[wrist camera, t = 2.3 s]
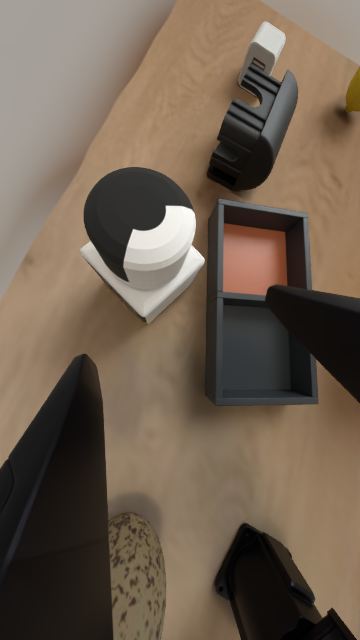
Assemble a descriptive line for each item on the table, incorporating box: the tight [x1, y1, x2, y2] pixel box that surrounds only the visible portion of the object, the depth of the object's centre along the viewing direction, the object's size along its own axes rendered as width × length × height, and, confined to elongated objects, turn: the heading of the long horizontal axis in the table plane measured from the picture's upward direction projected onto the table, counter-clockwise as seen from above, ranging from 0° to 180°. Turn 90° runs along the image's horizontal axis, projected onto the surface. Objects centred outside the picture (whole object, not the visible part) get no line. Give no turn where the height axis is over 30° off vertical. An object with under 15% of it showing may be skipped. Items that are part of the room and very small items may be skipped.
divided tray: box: [205, 199, 318, 406], centre depth 21 cm, size 22×11×4 cm, turn 178°
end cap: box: [207, 64, 298, 190], centre depth 21 cm, size 10×7×7 cm
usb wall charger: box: [238, 22, 286, 96], centre depth 25 cm, size 4×7×4 cm, turn 155°
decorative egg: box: [108, 513, 166, 640], centre depth 12 cm, size 7×7×10 cm
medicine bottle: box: [80, 167, 205, 324], centre depth 15 cm, size 7×7×12 cm
